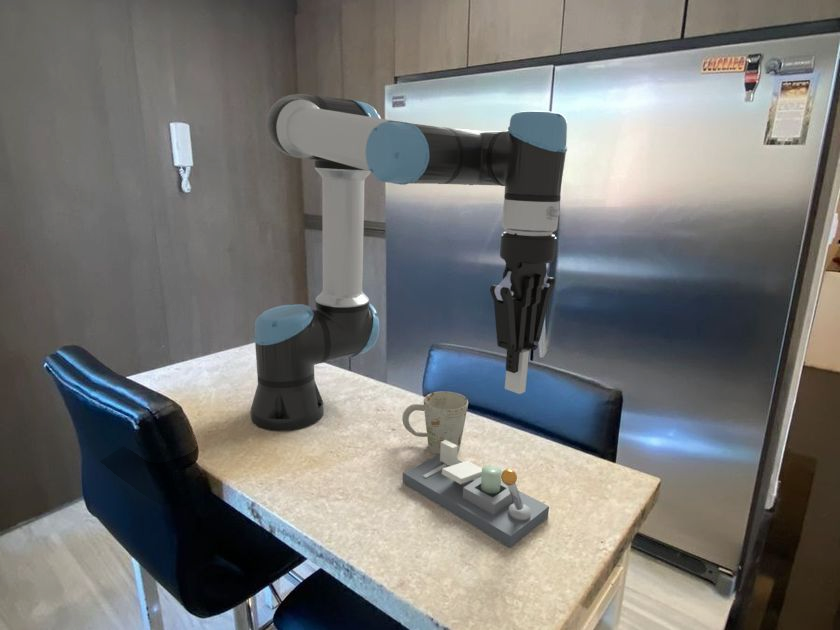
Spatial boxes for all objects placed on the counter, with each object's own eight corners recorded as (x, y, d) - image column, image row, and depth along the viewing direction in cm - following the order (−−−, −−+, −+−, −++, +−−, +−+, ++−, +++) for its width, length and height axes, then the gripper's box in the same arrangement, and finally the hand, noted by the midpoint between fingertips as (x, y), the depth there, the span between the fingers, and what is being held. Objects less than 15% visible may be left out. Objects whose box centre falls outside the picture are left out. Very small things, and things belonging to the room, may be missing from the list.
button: (476, 487, 80) (478, 470, 80) (488, 480, 82) (489, 463, 82) (492, 496, 78) (493, 478, 78) (504, 488, 80) (505, 471, 80)
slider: (439, 460, 90) (440, 442, 90) (444, 458, 91) (445, 439, 90) (451, 467, 89) (452, 448, 88) (456, 464, 89) (457, 445, 88)
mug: (462, 462, 95) (465, 411, 92) (396, 453, 97) (397, 404, 95) (467, 440, 103) (470, 393, 100) (406, 433, 105) (407, 387, 103)
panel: (402, 483, 88) (403, 463, 87) (442, 461, 95) (443, 443, 94) (509, 548, 73) (511, 525, 72) (548, 517, 80) (550, 495, 79)
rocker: (441, 473, 83) (442, 468, 83) (466, 465, 88) (467, 460, 88) (460, 484, 81) (461, 478, 80) (485, 475, 85) (486, 470, 85)
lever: (508, 508, 77) (496, 475, 72) (517, 497, 78) (505, 463, 73) (521, 515, 75) (509, 481, 71) (529, 503, 76) (518, 469, 72)
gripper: (524, 237, 64) (509, 411, 71) (577, 232, 73) (559, 386, 80) (477, 231, 70) (467, 393, 76) (532, 227, 78) (519, 372, 85)
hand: (514, 389), depth 78 cm, fingers closed
